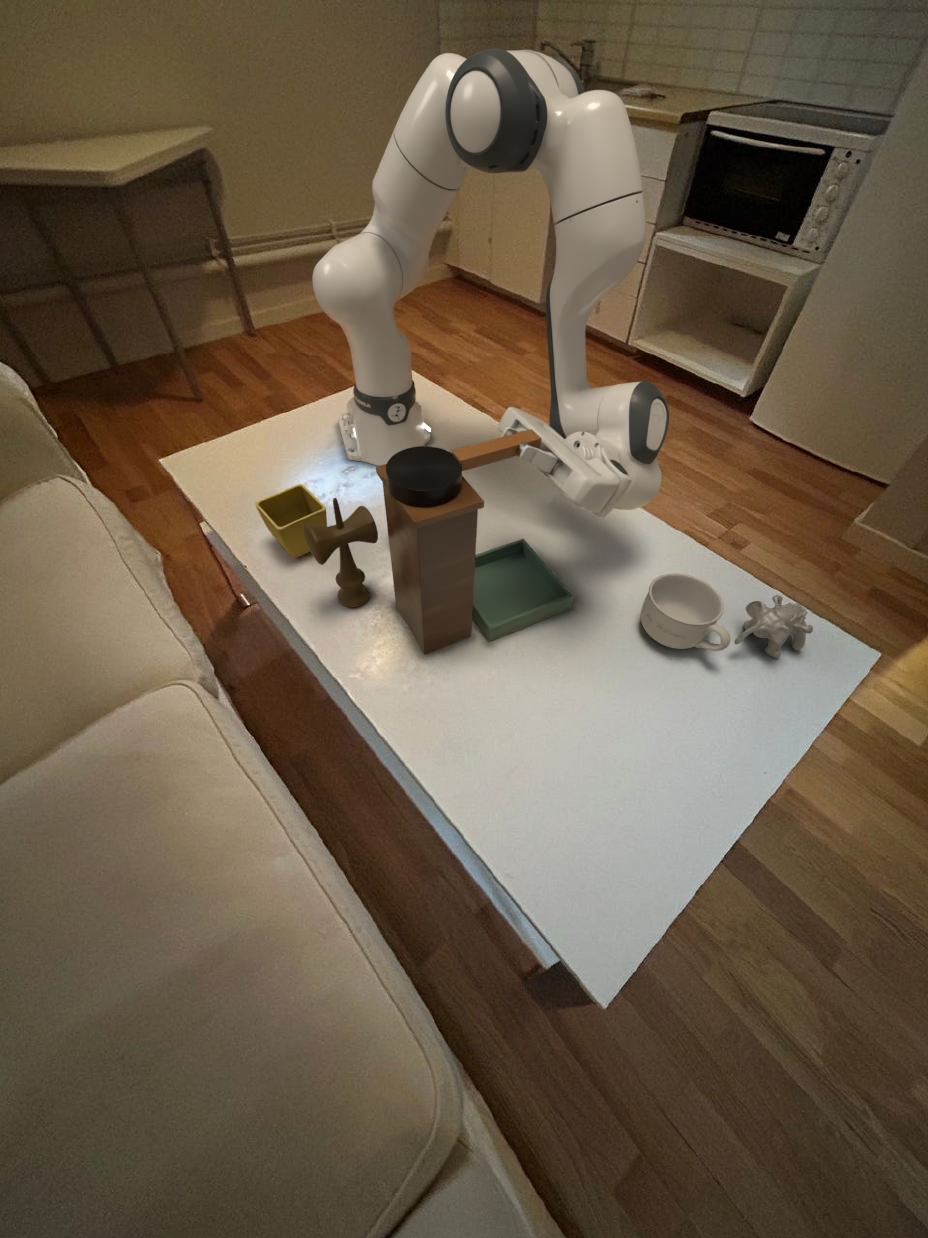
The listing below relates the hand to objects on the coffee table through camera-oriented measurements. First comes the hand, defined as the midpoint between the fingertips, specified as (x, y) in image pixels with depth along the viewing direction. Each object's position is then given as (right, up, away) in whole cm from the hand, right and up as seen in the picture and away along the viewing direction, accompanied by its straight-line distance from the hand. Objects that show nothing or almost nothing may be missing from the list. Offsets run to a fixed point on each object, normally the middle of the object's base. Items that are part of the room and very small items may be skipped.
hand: (513, 442), depth 67 cm
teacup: (+27, -25, +17) cm, 41 cm away
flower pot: (-35, -9, +29) cm, 46 cm away
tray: (+1, -18, +22) cm, 28 cm away
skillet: (-6, -4, 0) cm, 7 cm away
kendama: (-24, -19, +21) cm, 37 cm away
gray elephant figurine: (+40, -26, +17) cm, 51 cm away
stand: (-11, -22, +18) cm, 31 cm away
